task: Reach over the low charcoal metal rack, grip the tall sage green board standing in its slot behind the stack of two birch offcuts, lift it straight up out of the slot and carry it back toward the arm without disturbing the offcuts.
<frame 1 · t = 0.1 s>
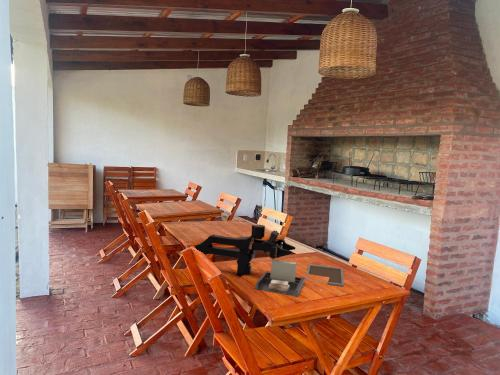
hand: (293, 250, 197), 17 cm above the table, tool horizontal, fingers open, 9 cm apart
offcut top: (279, 285, 187), point 2 cm above the table, touching offcut bottom
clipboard: (324, 276, 214), on the table
tall sheet: (282, 283, 194), point 1 cm above the table, touching rack
rack: (280, 288, 190), on the table
offcut bottom: (279, 288, 187), point 1 cm above the table, touching offcut top, rack
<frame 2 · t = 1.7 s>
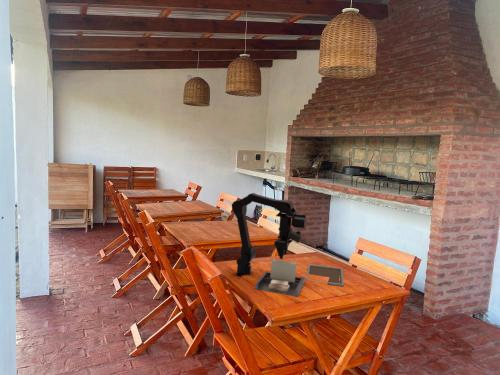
hand: (283, 256, 197), 13 cm above the table, tool pointing down, fingers open, 9 cm apart
nothing on the table moved.
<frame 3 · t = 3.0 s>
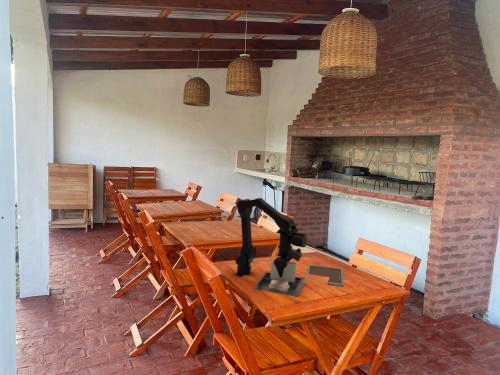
hand: (282, 274, 194), 6 cm above the table, tool pointing down, fingers open, 9 cm apart
nothing on the table moved.
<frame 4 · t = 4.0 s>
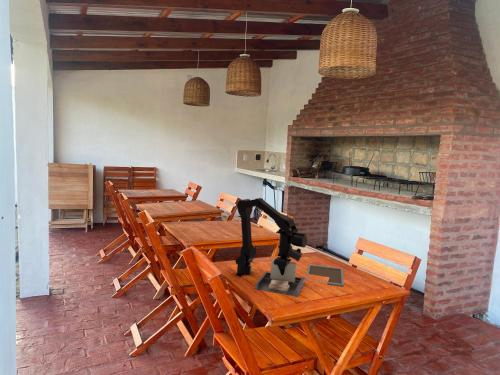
hand: (282, 274, 194), 6 cm above the table, tool pointing down, fingers closed on tall sheet, 2 cm apart
tall sheet: (282, 283, 194), point 1 cm above the table, touching gripper, rack
everything else where it was.
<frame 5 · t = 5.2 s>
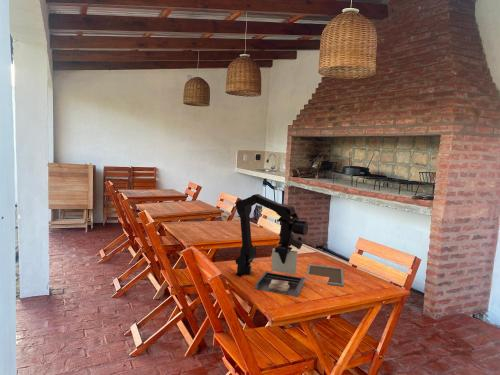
hand: (283, 262, 193), 11 cm above the table, tool pointing down, fingers closed on tall sheet
tall sheet: (283, 272, 193), point 7 cm above the table, touching gripper
everything else where it was.
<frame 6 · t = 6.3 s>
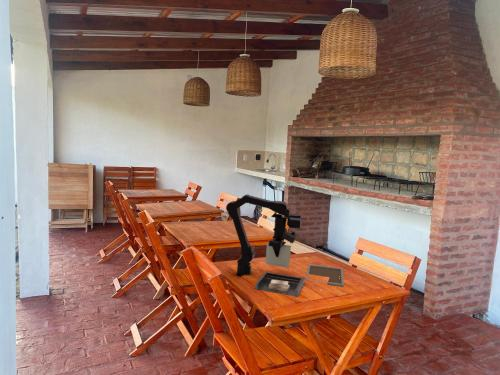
hand: (277, 256, 201), 12 cm above the table, tool pointing down, fingers closed on tall sheet
tall sheet: (277, 265, 202), point 7 cm above the table, touching gripper
everything else where it was.
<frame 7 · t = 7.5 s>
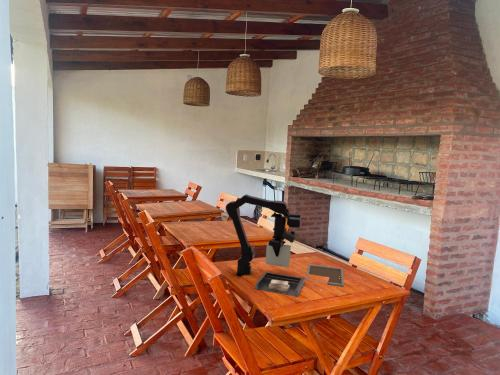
hand: (277, 256, 202), 12 cm above the table, tool pointing down, fingers closed on tall sheet
tall sheet: (277, 265, 202), point 7 cm above the table, touching gripper
everything else where it was.
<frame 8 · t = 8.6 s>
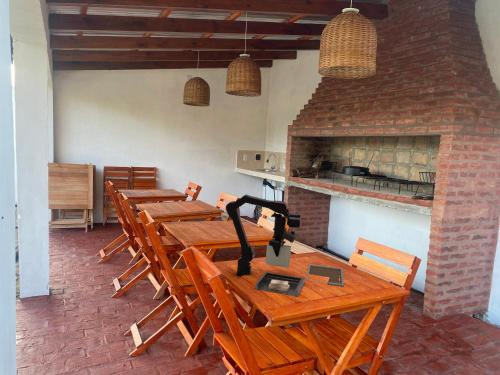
hand: (277, 256, 202), 12 cm above the table, tool pointing down, fingers closed on tall sheet
tall sheet: (277, 265, 202), point 7 cm above the table, touching gripper
everything else where it was.
at the end: tall sheet point 6.9 cm above the table; the gripper is holding tall sheet; offcut top moved 0.0 cm from its start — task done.
